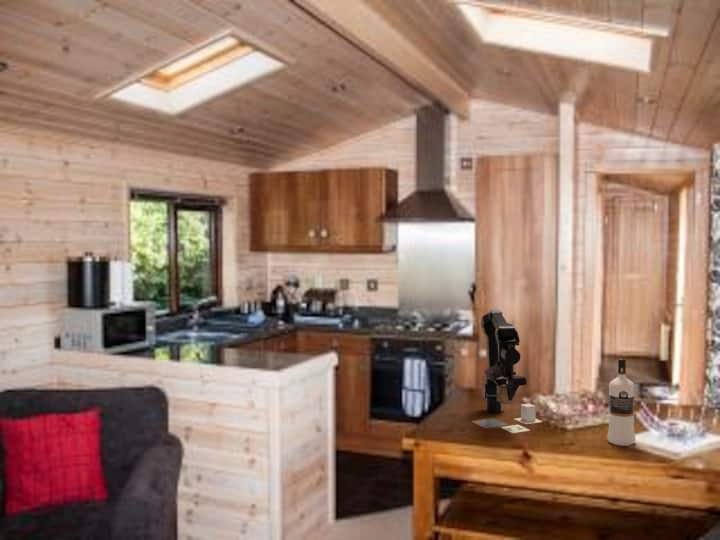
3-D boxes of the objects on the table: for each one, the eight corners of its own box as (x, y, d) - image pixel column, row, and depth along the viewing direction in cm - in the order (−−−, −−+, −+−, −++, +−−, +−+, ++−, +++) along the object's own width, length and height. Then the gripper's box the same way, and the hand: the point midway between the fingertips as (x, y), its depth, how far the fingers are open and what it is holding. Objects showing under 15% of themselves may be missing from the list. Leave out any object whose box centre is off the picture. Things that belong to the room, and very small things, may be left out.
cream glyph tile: (500, 427, 254) (500, 427, 254) (517, 425, 257) (517, 424, 257) (512, 433, 247) (512, 433, 247) (530, 431, 250) (530, 430, 250)
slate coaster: (471, 422, 262) (471, 421, 262) (493, 419, 266) (493, 418, 266) (485, 429, 253) (485, 428, 253) (507, 425, 256) (507, 424, 256)
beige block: (520, 419, 263) (520, 404, 263) (529, 418, 265) (529, 403, 265) (527, 422, 260) (527, 407, 259) (535, 420, 261) (535, 405, 261)
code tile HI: (513, 419, 265) (513, 418, 265) (530, 417, 268) (530, 416, 268) (525, 425, 257) (525, 424, 257) (542, 422, 260) (542, 421, 260)
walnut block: (496, 401, 255) (496, 385, 255) (507, 399, 257) (507, 384, 257) (504, 404, 251) (504, 388, 250) (515, 402, 253) (515, 387, 252)
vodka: (635, 439, 238) (636, 356, 236) (635, 447, 229) (636, 362, 227) (607, 437, 241) (608, 355, 239) (607, 445, 233) (607, 360, 231)
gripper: (474, 356, 258) (474, 395, 259) (502, 365, 241) (502, 407, 242) (498, 353, 262) (498, 392, 264) (527, 362, 245) (527, 404, 247)
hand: (505, 398), depth 254 cm, fingers closed on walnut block, 5 cm apart
